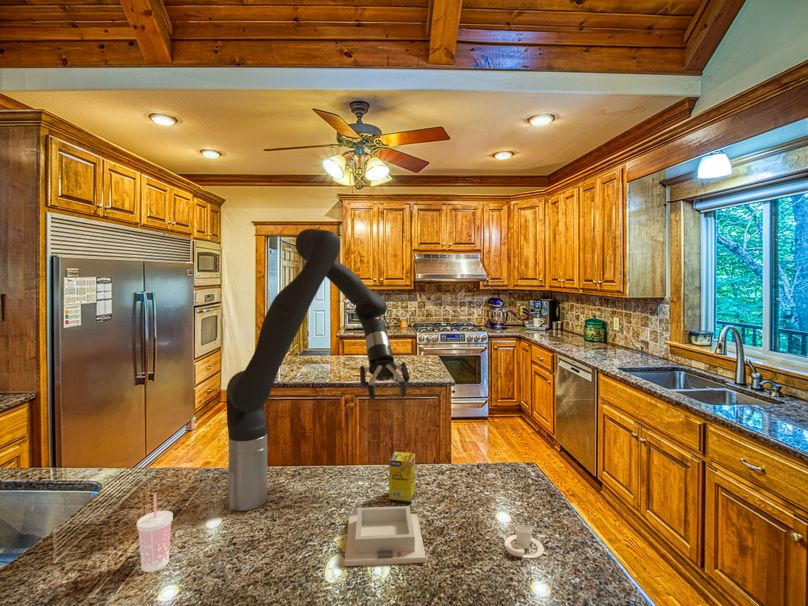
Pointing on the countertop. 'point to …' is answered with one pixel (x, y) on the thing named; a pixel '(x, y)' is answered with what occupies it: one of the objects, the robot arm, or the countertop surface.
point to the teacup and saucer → (523, 542)
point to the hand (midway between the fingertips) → (388, 397)
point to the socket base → (384, 537)
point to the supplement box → (402, 477)
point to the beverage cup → (154, 539)
